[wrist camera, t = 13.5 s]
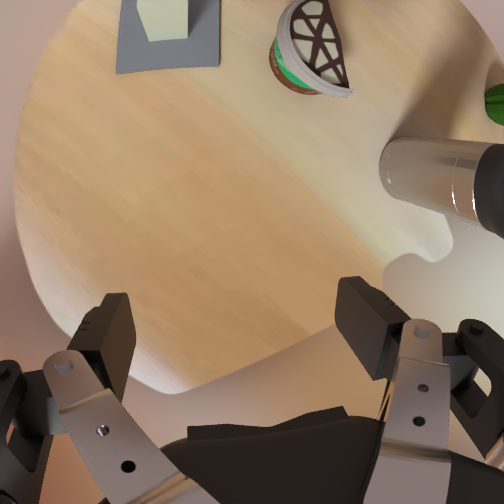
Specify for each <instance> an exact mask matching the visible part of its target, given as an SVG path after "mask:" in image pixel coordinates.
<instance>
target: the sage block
mask: <svg viewBox="0 0 504 504" xmlns="http://www.w3.org/2000/svg"><path fill="white" fill-rule="evenodd" d="M137 10H138V13H139V15H140V18H141V21H142V24H143V26H144V29H145V32H146V34H147V37H148V40H149V42H150V41H160V40H170V39H183V38H188V0H137Z"/></svg>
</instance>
